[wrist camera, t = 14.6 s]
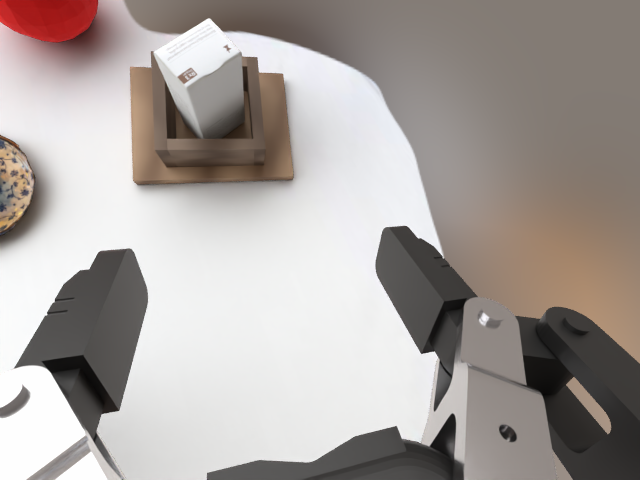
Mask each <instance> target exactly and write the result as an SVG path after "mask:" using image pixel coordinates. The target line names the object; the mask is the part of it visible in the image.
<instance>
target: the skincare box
mask: <svg viewBox="0 0 640 480" xmlns="http://www.w3.org/2000/svg"><path fill="white" fill-rule="evenodd" d="M154 56H155V58H156V61H157V63H158V65H159V68H160V70H161V72H162V74H163V77H164V79H165V81H166V83H167V86H168V88H169V90H170V92H171V95H172V97H173V99H174V102H175V104H176V106H177V109H178V111H179V113H180V116H181V118H182V120H183V122H184V124H185V125H186V126H187V127H188V128H189V129H190V130H191V131H192V132H193V134H194V135H195V136H196V137H197V138H198V139H221V138H223V137H224V136H226V135H227V134H228V133H230V132H231V131H232V130H234V129H235V128H237V127H238V126H239V125H241V124H242V123H243V122H245V113H244V91H243V70H242V53H241V51H240V50H239V49H238V48H237V47H236V46H235V45H234V44H233V43H232V42H231V40H230V39H229V38H228V37H227V36H226V35H225V34H224V33H223V32H222V31H221V30H220V29H219V27H218V26H217V25H216V24H215V23H214V22H213V21H212V20H211V19H207V20H205V21H203V22H202V23H200V24H199V25H197V26H196V27H194V28H192V29H191V30H189V31H188V32H186V33H184V34H183V35H181V36H179V37H178V38H176V39H174V40H173V41H171V42H170V43H168V44H166V45H165V46H163V47H161V48H160V49H158V50H156V51H155V52H154Z"/></svg>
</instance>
